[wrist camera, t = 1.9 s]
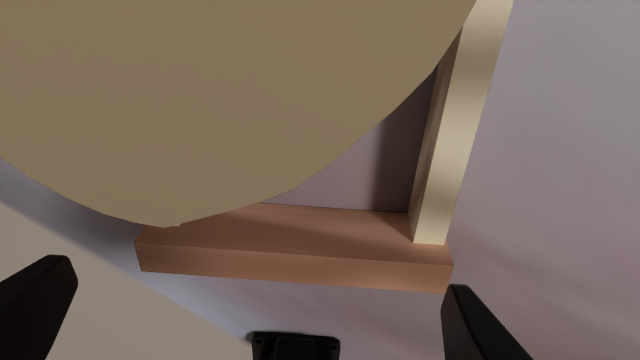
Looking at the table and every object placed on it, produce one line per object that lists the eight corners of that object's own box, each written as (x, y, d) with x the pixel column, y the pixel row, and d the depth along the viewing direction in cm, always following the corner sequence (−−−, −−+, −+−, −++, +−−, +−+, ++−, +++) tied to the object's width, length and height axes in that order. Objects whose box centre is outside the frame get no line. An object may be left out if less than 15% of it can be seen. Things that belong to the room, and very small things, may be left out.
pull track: (432, 241, 25) (445, 293, 21) (168, 223, 25) (141, 271, 22) (549, -208, 14) (615, -245, 10) (76, -232, 14) (-8, -276, 11)
